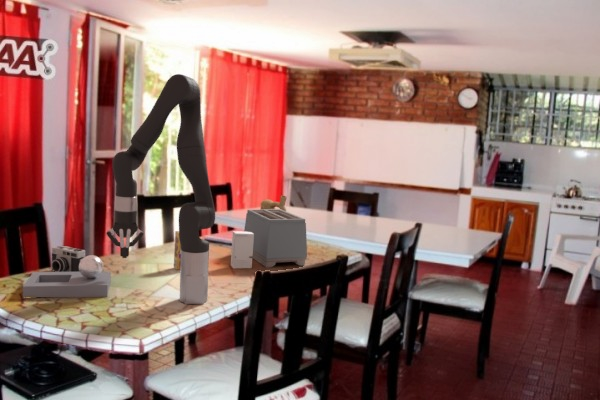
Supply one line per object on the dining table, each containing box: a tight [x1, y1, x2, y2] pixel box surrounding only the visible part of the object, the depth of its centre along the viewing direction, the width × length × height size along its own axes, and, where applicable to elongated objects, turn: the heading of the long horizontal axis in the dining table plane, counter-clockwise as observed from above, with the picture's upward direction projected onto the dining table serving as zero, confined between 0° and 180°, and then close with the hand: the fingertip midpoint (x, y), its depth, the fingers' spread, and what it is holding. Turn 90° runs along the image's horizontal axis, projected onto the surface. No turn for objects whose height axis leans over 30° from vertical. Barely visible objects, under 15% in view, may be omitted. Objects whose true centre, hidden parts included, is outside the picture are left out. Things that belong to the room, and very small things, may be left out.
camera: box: [51, 245, 86, 272], centre depth 220 cm, size 14×9×10 cm, turn 57°
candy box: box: [173, 230, 181, 271], centre depth 236 cm, size 9×4×15 cm, turn 123°
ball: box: [79, 254, 104, 279], centre depth 201 cm, size 8×8×8 cm
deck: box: [22, 270, 112, 299], centre depth 200 cm, size 18×26×4 cm
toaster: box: [243, 208, 308, 268], centre depth 262 cm, size 19×35×20 cm, turn 25°
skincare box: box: [230, 230, 254, 270], centre depth 243 cm, size 8×6×15 cm
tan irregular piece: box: [260, 195, 288, 212], centre depth 295 cm, size 17×20×25 cm
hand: (124, 257), depth 204 cm, fingers closed
